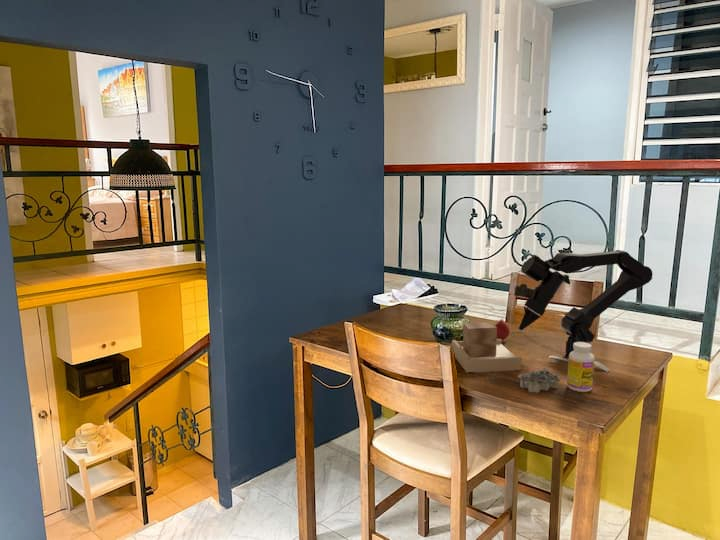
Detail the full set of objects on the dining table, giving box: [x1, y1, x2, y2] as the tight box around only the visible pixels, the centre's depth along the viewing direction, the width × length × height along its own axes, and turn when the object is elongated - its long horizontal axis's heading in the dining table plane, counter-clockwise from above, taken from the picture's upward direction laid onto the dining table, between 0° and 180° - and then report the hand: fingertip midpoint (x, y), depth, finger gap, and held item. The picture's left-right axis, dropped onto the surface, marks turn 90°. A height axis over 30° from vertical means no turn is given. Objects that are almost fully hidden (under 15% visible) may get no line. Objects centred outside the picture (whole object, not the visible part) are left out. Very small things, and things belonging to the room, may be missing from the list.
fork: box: [547, 355, 610, 373], centre depth 172 cm, size 3×21×3 cm, turn 44°
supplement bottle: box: [566, 342, 595, 393], centre depth 152 cm, size 7×7×13 cm
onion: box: [495, 318, 511, 342], centre depth 195 cm, size 6×6×8 cm
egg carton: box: [517, 367, 562, 393], centre depth 155 cm, size 11×8×4 cm
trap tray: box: [451, 339, 522, 374], centre depth 175 cm, size 17×18×5 cm
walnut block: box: [462, 321, 497, 358], centre depth 174 cm, size 9×6×10 cm, turn 95°
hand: (520, 329), depth 175 cm, fingers closed
